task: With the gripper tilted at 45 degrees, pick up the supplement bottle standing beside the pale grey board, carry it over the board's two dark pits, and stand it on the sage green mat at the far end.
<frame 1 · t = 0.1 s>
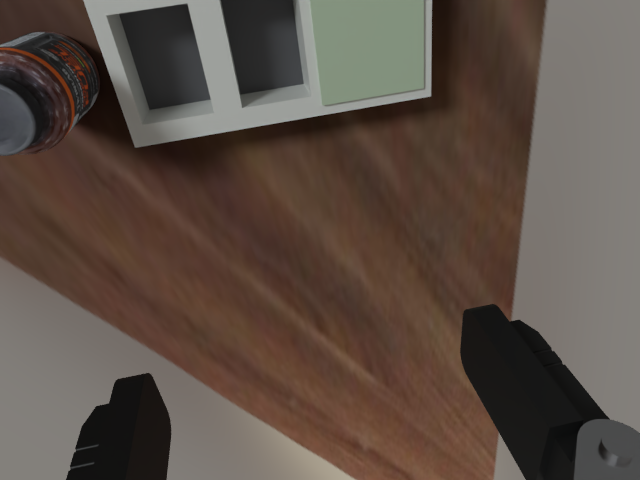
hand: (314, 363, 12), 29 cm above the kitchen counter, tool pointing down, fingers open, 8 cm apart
supplement bottle: (58, 72, 34), on the kitchen counter
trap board: (270, 39, 35), on the kitchen counter
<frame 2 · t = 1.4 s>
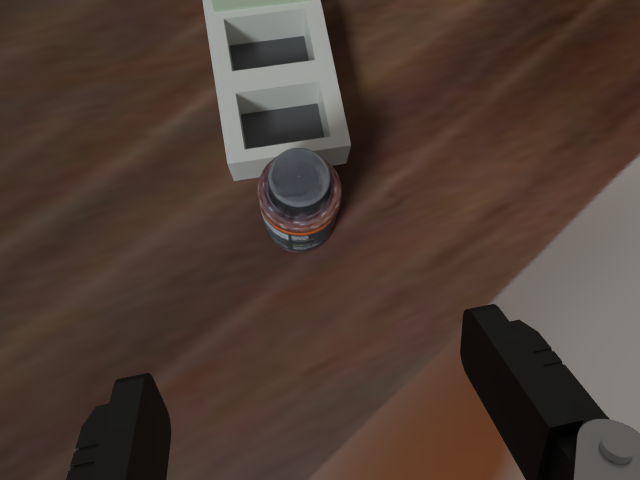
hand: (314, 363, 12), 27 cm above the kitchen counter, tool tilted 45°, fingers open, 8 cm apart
supplement bottle: (299, 221, 41), on the kitchen counter
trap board: (270, 61, 44), on the kitchen counter
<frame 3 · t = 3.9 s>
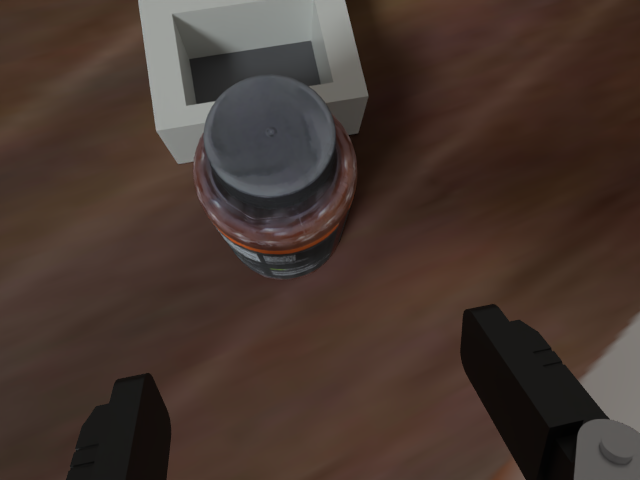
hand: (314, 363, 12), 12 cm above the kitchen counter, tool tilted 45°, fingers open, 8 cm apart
supplement bottle: (284, 227, 25), on the kitchen counter
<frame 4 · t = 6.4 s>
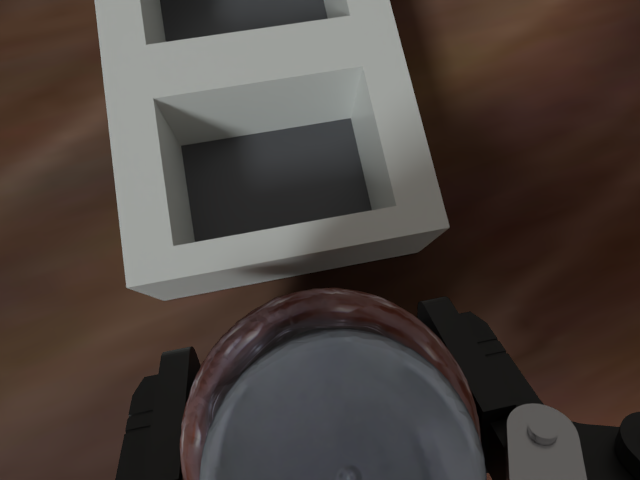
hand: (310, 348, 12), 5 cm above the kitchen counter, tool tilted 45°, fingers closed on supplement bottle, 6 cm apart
supplement bottle: (316, 394, 18), on the kitchen counter, touching gripper
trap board: (248, 30, 21), on the kitchen counter
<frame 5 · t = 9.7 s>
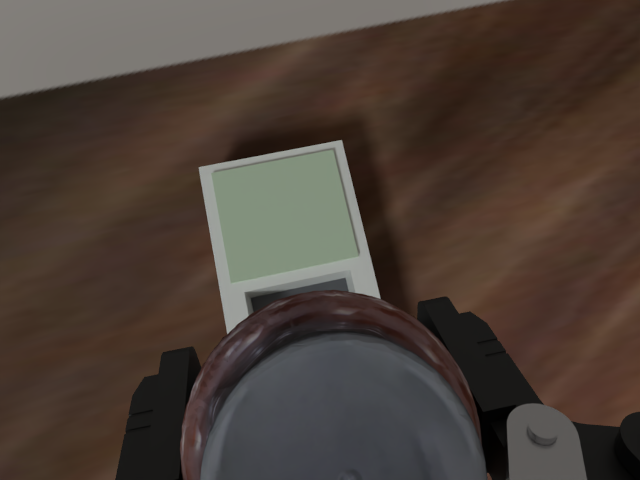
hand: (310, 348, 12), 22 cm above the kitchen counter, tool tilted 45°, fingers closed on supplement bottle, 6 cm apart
supplement bottle: (316, 396, 17), point 16 cm above the kitchen counter, touching gripper
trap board: (304, 315, 34), on the kitchen counter
when the fingers open (11 cm above the kitchen counter, at t = 13.0 s): supplement bottle drops 1 cm, resting on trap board.
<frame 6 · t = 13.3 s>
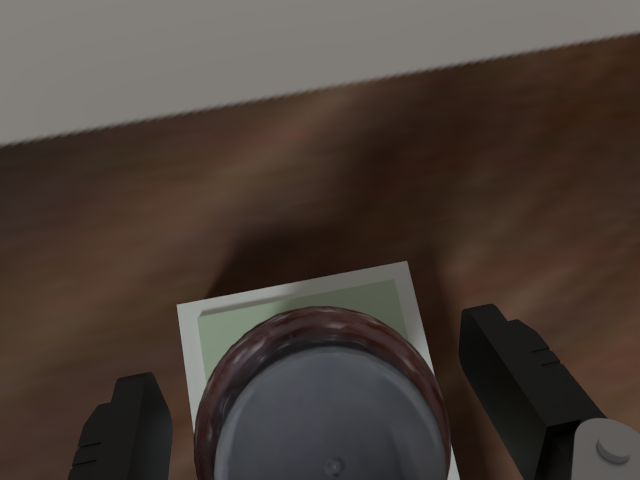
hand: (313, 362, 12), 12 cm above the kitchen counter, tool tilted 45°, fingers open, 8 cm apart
supplement bottle: (312, 397, 19), point 4 cm above the kitchen counter, touching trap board
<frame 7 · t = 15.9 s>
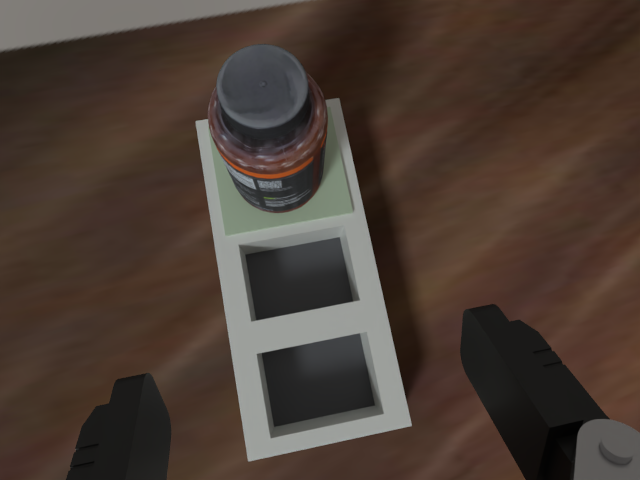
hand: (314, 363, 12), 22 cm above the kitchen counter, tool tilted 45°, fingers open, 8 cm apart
supplement bottle: (277, 173, 31), point 4 cm above the kitchen counter, touching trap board
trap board: (297, 273, 34), on the kitchen counter
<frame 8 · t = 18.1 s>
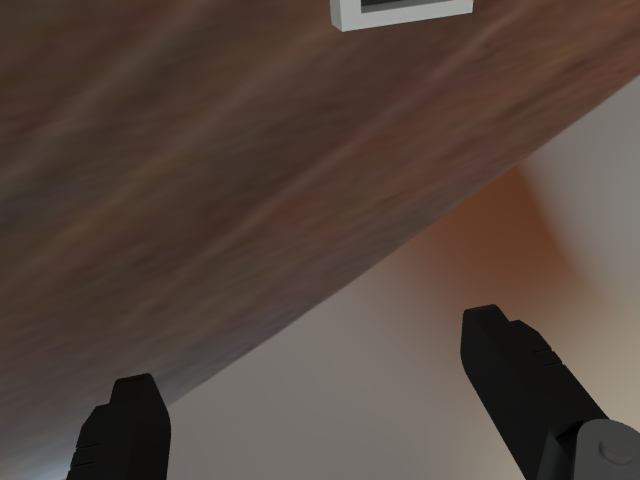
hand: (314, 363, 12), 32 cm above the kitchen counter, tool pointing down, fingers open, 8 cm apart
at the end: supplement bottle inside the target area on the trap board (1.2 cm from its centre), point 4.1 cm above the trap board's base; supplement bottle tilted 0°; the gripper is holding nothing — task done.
